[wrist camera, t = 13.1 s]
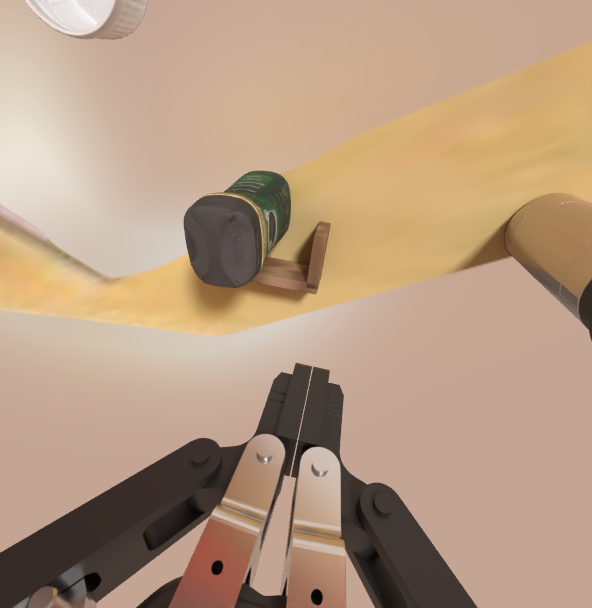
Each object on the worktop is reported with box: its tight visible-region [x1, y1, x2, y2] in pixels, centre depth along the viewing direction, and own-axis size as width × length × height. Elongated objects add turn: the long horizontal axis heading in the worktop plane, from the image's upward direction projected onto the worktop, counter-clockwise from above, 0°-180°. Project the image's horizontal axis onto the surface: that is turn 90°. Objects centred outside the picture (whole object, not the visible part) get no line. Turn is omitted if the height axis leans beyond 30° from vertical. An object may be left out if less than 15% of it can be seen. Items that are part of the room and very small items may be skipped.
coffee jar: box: [184, 171, 291, 288], centre depth 38 cm, size 10×8×19 cm
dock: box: [251, 222, 330, 294], centre depth 46 cm, size 19×9×6 cm, turn 83°
